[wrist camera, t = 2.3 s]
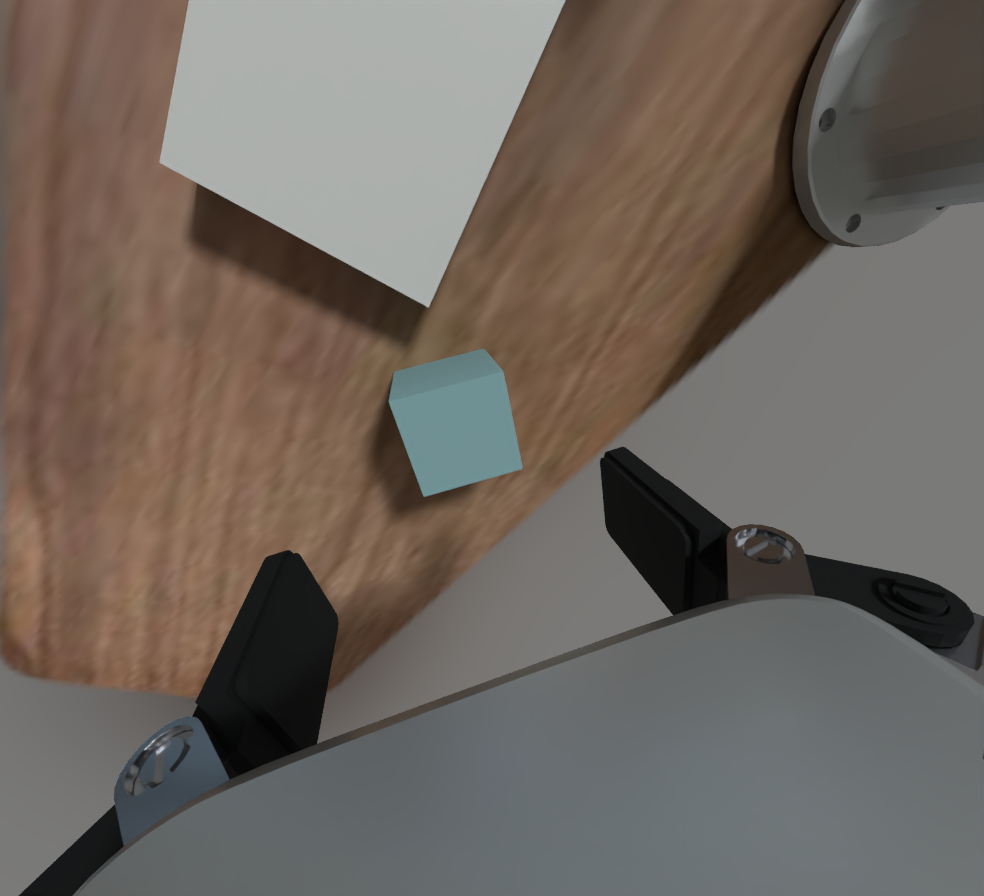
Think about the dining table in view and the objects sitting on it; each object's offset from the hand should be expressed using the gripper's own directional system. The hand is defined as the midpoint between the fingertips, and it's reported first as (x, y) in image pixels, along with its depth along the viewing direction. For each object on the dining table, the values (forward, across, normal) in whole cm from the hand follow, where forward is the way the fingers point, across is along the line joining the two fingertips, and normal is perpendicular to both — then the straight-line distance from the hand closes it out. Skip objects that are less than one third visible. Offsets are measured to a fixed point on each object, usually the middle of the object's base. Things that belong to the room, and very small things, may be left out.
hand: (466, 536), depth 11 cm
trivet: (+11, -2, -14) cm, 18 cm away
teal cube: (+11, -1, 0) cm, 11 cm away
